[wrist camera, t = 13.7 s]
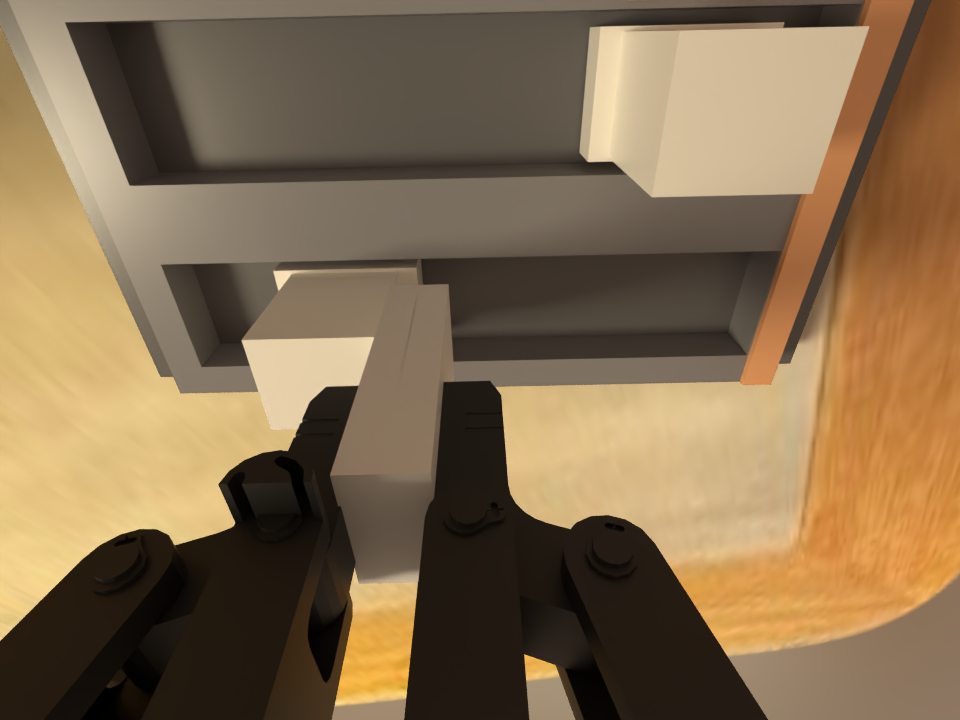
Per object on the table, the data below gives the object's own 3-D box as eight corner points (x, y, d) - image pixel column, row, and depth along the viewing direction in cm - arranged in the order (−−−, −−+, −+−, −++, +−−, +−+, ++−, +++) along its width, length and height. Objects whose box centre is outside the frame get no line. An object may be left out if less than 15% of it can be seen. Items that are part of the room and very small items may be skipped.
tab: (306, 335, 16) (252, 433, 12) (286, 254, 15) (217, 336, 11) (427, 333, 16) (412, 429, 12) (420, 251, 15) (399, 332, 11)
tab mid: (579, 152, 13) (624, 203, 9) (589, 27, 12) (649, 23, 8) (728, 149, 13) (837, 198, 9) (757, 23, 12) (903, 17, 8)
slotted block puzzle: (178, 358, 18) (134, 405, 16) (-154, -423, 9) (-370, -581, 7) (772, 345, 18) (816, 391, 16) (1058, -454, 9) (1264, -628, 7)
